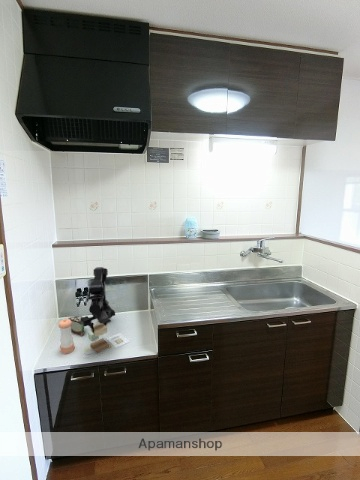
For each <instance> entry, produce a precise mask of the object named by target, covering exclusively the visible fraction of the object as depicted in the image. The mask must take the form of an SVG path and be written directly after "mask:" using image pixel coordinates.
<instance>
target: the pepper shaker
mask: <svg viewBox="0 0 360 480" xmlns="http://www.w3.org/2000/svg"><path fill="white" fill-rule="evenodd" d="M71 325H72V321H71V320H70V319H68V318H64V319H61V320H60V321H59V322H58V325H57V326H58V328H59V331H60V340H59V341H60V346H59V348H60V353H61V354H63V355H65V354H70V353H72V352H73V351H74V350H75V343H74V336H73V333H72V332H71Z"/></svg>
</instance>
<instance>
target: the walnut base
mask: <svg viewBox="0 0 360 480" xmlns="http://www.w3.org/2000/svg"><path fill="white" fill-rule="evenodd" d="M110 344H111V343H110V342H109V341H108V340H107V339H106V340H105V338H103V337H102V338H99V339H98V340H94V341H92V342H91V343H90V348H91V349H92V350H93V352H95V353H96V354H98V353H101V352H102V351H105V350H107V349H109V348H110V347H111V345H110Z"/></svg>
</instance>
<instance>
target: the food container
mask: <svg viewBox="0 0 360 480" xmlns="http://www.w3.org/2000/svg"><path fill="white" fill-rule="evenodd" d="M83 317H84V316H82V315H74V316H70V317H68V318H67V319H70V320H71V321H72V325H71V332H72V335H76V336H79V337H83V336H84V335H85V326H83V325H82V324H81V323H80V319H81V318H83Z"/></svg>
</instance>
